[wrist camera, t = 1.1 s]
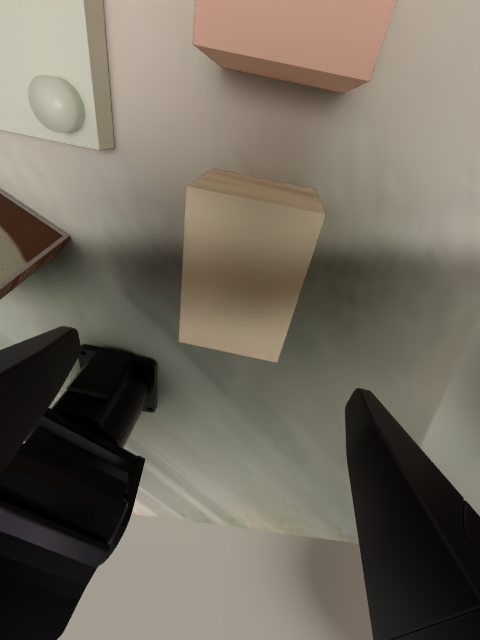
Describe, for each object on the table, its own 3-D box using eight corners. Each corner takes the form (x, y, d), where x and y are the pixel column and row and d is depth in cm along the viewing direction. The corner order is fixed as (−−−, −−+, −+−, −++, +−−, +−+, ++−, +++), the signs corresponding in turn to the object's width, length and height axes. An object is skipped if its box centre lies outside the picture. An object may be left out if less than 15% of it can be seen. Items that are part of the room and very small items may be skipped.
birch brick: (279, 312, 20) (277, 362, 16) (200, 296, 20) (178, 342, 16) (315, 188, 15) (326, 214, 11) (212, 168, 15) (186, 186, 11)
